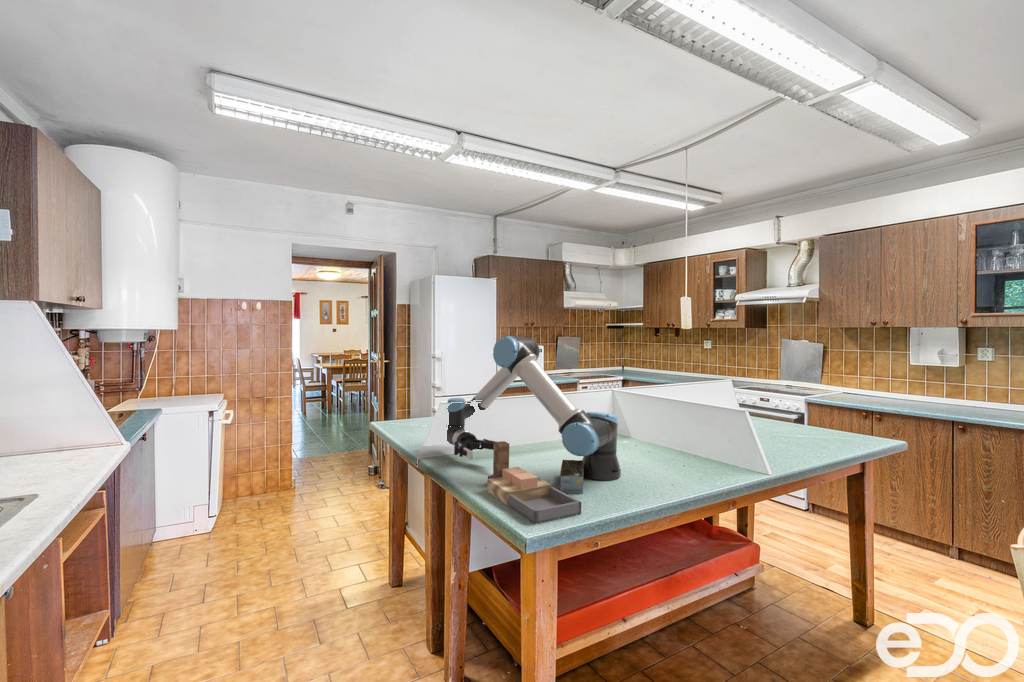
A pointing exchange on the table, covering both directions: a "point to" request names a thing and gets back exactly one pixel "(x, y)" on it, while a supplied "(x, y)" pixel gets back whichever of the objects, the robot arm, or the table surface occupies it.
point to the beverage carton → (571, 476)
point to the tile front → (524, 480)
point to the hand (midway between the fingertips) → (488, 453)
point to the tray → (546, 506)
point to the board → (517, 490)
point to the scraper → (500, 459)
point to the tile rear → (509, 471)
